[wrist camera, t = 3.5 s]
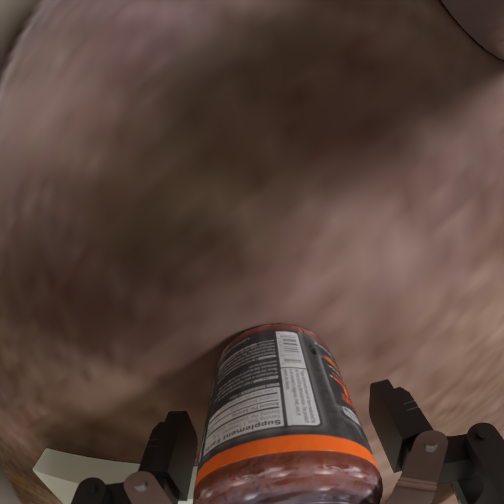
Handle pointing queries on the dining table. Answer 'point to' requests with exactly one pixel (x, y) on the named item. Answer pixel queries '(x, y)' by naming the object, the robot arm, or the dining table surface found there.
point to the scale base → (85, 473)
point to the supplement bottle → (283, 426)
